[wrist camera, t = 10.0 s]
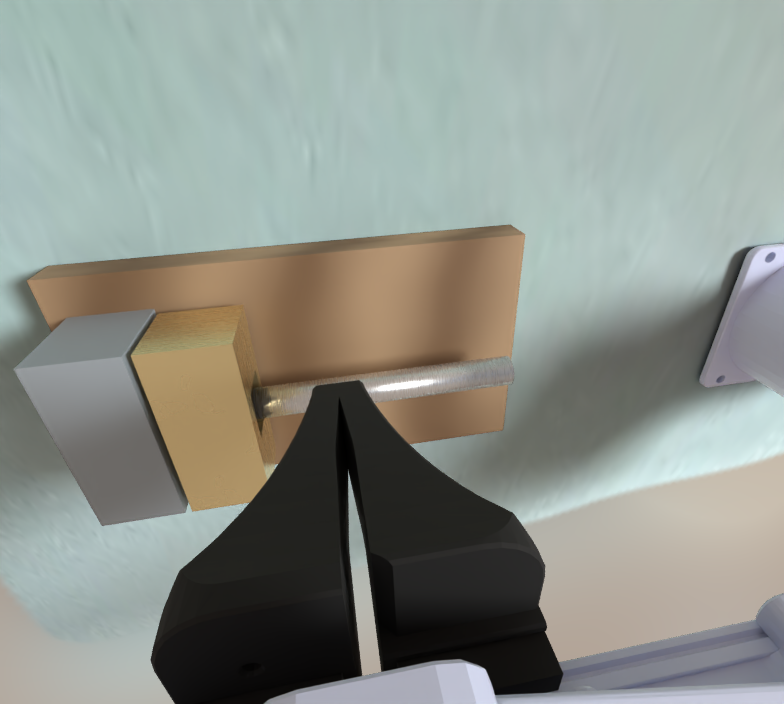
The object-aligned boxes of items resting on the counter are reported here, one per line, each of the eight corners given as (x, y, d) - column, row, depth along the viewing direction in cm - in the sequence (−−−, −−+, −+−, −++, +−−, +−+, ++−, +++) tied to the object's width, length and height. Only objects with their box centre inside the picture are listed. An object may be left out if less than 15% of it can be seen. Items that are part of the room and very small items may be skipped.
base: (510, 224, 19) (570, 263, 15) (492, 412, 24) (533, 481, 20) (48, 265, 17) (-40, 326, 12) (137, 463, 22) (97, 554, 17)
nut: (243, 304, 16) (232, 343, 14) (276, 446, 20) (272, 498, 18) (157, 313, 16) (130, 355, 14) (206, 457, 20) (192, 511, 17)
